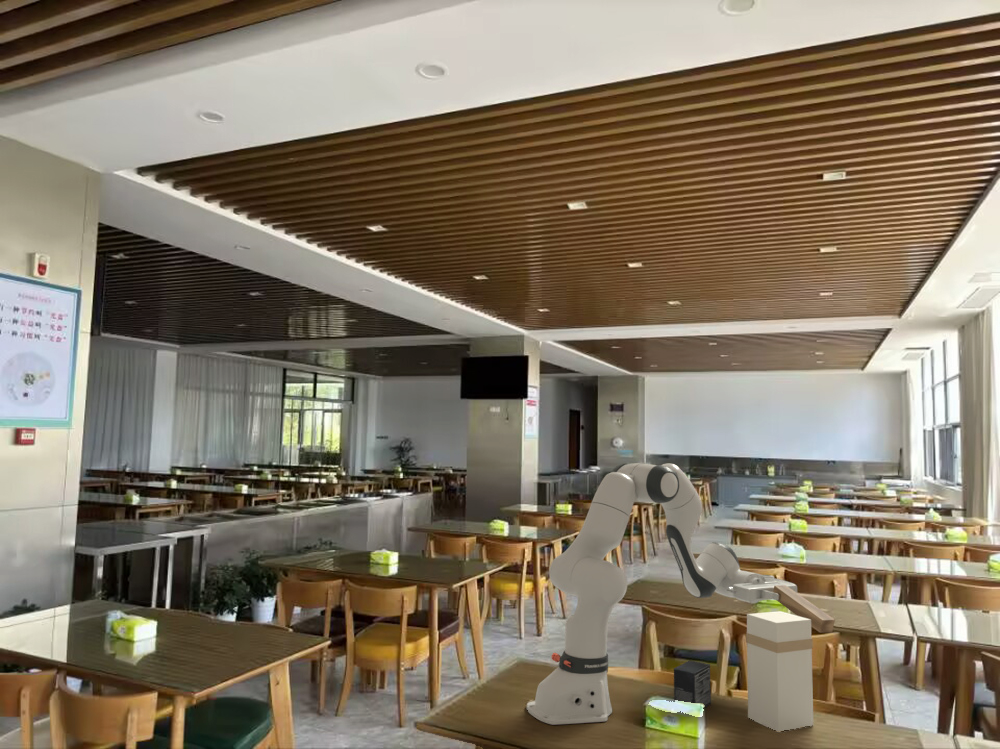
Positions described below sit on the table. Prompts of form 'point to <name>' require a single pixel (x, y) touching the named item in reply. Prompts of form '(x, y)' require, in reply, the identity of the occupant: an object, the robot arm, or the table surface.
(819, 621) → the flap bar
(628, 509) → the robot arm
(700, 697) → the small box
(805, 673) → the carton
